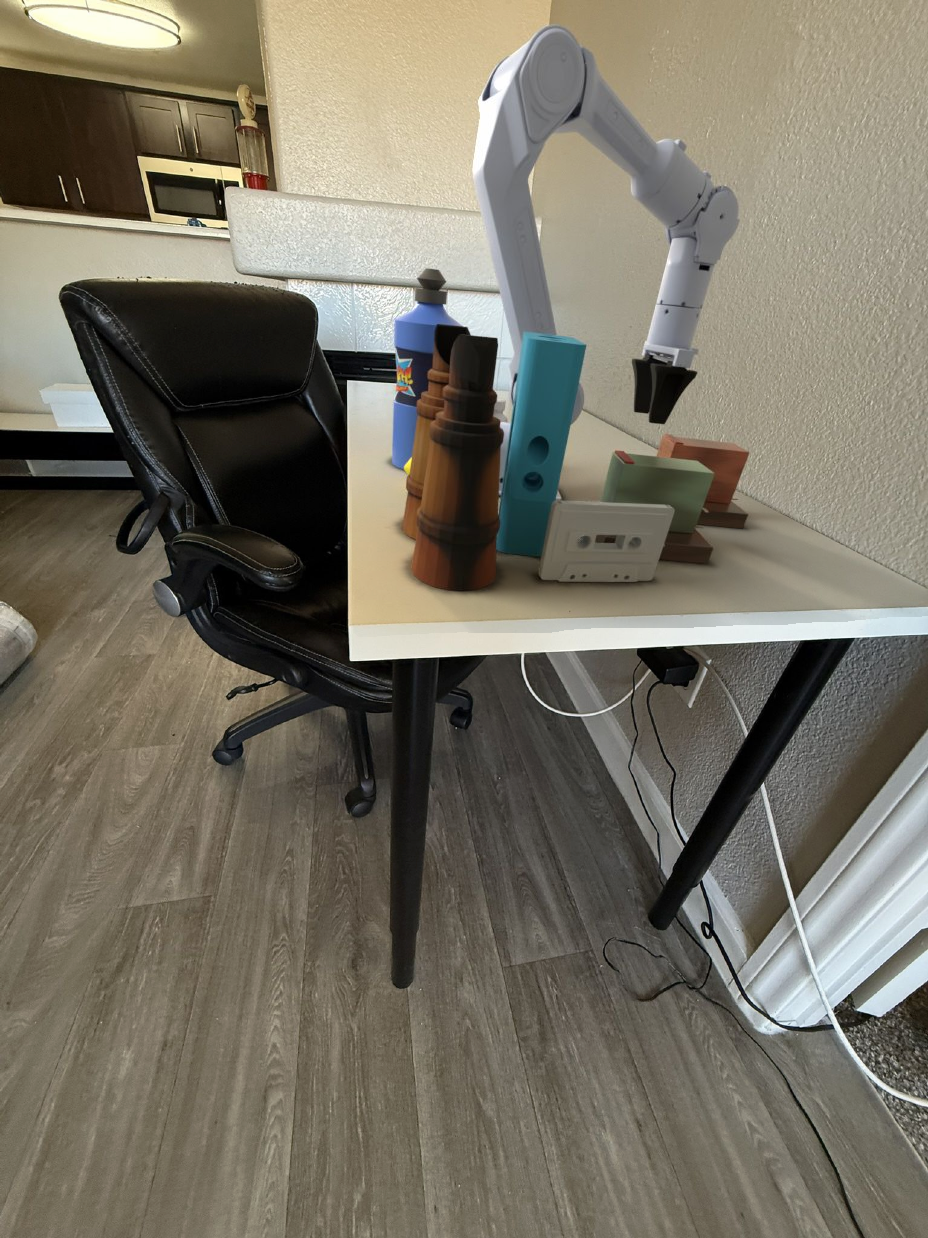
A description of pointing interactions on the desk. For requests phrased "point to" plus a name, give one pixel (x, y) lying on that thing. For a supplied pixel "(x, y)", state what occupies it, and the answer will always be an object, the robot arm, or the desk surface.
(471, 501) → the binoculars
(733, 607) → the desk surface
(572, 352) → the block
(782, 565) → the desk surface
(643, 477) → the green box
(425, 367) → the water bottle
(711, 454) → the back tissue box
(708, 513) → the back stand
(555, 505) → the cassette
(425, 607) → the desk surface
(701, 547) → the front stand
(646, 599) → the desk surface
